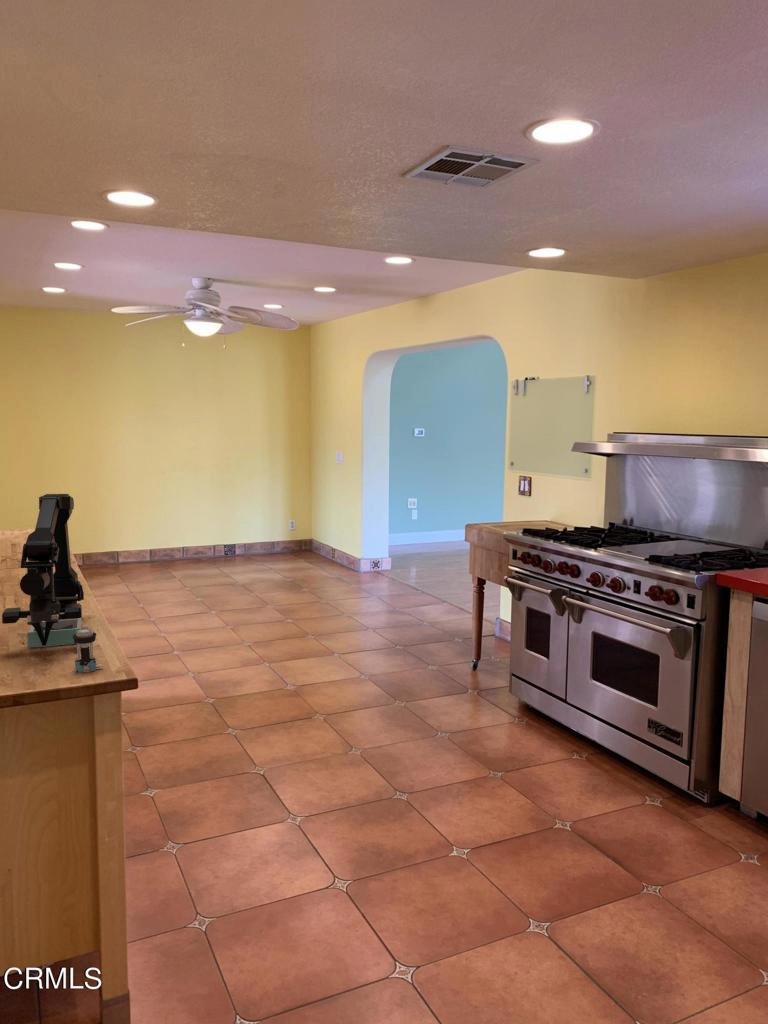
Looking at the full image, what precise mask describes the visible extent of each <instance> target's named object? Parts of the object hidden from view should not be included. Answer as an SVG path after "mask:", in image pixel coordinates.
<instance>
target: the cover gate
mask: <svg viewBox="0 0 768 1024" xmlns="http://www.w3.org/2000/svg"><path fill="white" fill-rule="evenodd" d="M78 630H81V628H73V629H60V630H50V633H49V637H48V640H47V644H46V646H45V647H49V646H50V647H51V646H60V645H61V646H64V645H75V644H76V645H77V643H75V642H74V638H73V635H74V634H77V631H78ZM26 633H27V634H26V635H27V648H37V647H44V646H43V645H42V643H41V641H40V638H39V636H38V634H37V632H36V631H34V632H29V631H27V632H26ZM43 633H44V636H45V631H43Z"/></svg>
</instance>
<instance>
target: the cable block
mask: <svg viewBox="0 0 768 1024" xmlns="http://www.w3.org/2000/svg"><path fill="white" fill-rule="evenodd" d="M45 626H46V623H43V624H42V627H43V631H45ZM60 629H73V624H66V623H59V622H58V623H54V624H53V626H52V628H51V630H60Z"/></svg>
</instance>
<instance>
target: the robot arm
mask: <svg viewBox="0 0 768 1024" xmlns="http://www.w3.org/2000/svg"><path fill="white" fill-rule="evenodd" d="M74 509H75V501H74V497H72V496H71V495H70V493H45V494H43V495H41V496H38V510H39V512H38V516H37V521H36V524H35V528H34V530H33V531H32V532H30V533H29V534H28V535H27V537H26V541H25V543H23V546H22V553H21V559H20V560H21V561H20V569H27V571H26V573H25V574H23V576H22V577H21V579H20V581H19V588H20V590H21V592H22V593H24V594H25V595H26V596H30V597H29V600H30V601H29V606H28V610H22V608H21V607H19V606H17V607H7V608H5V609H4V610H3V611H2V614H1V621H2V624H4V625H7V624H16V623H17V622H18V621H19V620H20V619H26V620H27V623H26V624H27V625H28V626H31V625H32V626H33V627H34V628H35V630H36V632H37V634H38V636H39V638H40V641H41V643H42V645H43V646H42V647H47V646H46V644H47V640H48V637H49V633H50V630H51V628H52V626H53V624H54V623H58V620H64V619H78V618H81V619H82V615H83V607H82V606H83V605H82V604H81V603H78V602H81V601H84V600H85V593H84V588H83V585H82V584H81V581H80V580H79V575H78V573H77V572H76V570H75V569H74V568H73V567H72V562H71V550H70V539H69V527H68V525H69V524H68V521H69V519H70V518H71V516H72V515H73V511H74ZM42 621H46V626H45V636H44V633H43V627H42Z"/></svg>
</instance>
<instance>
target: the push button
mask: <svg viewBox="0 0 768 1024" xmlns="http://www.w3.org/2000/svg"><path fill="white" fill-rule="evenodd" d="M96 637H97V633H96V632H95V631H93V629H91V628H88V629H83V628H82V629H81V630H78V631H77V634H74V635H73V638H74V642H75V643H76V653H77V654H76V655H77V657H76V659H75V661H74V666H75V667H74V668H75V670H74V671H75V673H76V674H81V673H89V672H96V671H97V669H100V668H104V666H103V665H101V664H104V662H97V659H96V657H95V656H94V642H95V641H96ZM97 665H99V666H97Z"/></svg>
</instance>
